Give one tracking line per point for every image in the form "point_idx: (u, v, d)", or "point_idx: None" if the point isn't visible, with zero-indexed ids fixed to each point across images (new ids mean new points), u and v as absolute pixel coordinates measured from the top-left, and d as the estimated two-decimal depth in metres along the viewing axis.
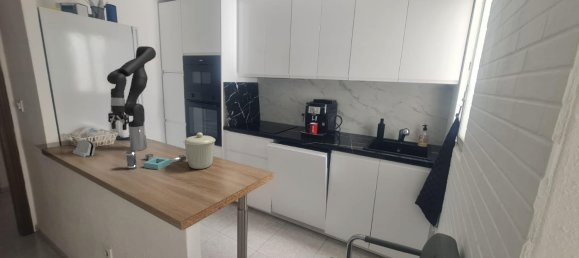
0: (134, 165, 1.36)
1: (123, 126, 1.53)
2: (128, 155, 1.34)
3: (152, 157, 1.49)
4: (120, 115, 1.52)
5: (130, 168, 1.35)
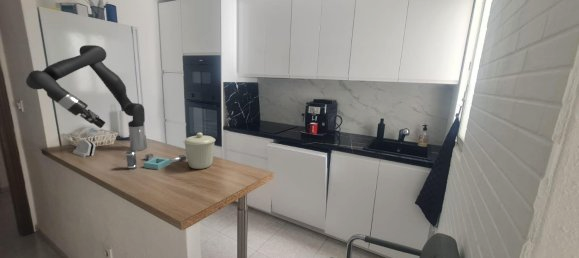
0: (134, 165, 1.36)
1: (96, 125, 1.25)
2: (128, 155, 1.34)
3: (152, 157, 1.49)
4: None
5: (130, 168, 1.35)
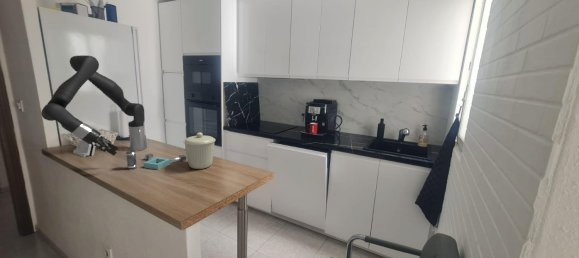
0: (134, 165, 1.36)
1: (109, 152, 1.26)
2: (128, 155, 1.34)
3: (152, 157, 1.49)
4: None
5: (130, 168, 1.35)
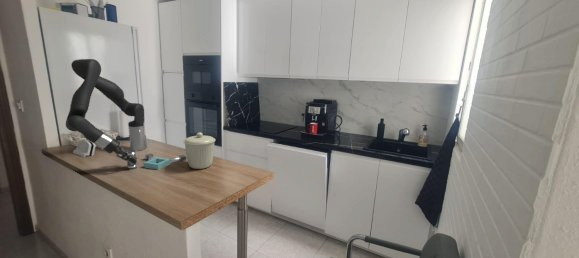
0: (134, 165, 1.36)
1: (130, 161, 1.34)
2: None
3: (152, 157, 1.49)
4: None
5: (130, 168, 1.35)
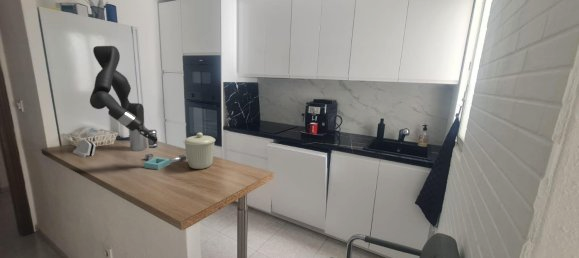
0: (155, 144, 1.38)
1: (151, 139, 1.36)
2: None
3: (152, 157, 1.49)
4: (139, 131, 1.32)
5: (151, 146, 1.37)
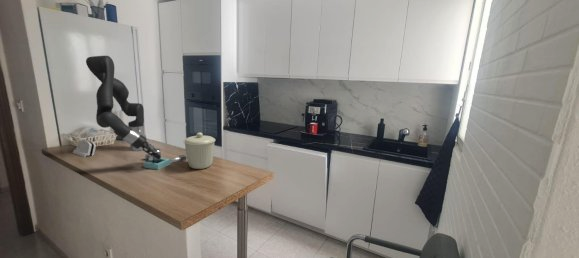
0: None
1: (154, 156, 1.37)
2: None
3: None
4: None
5: None
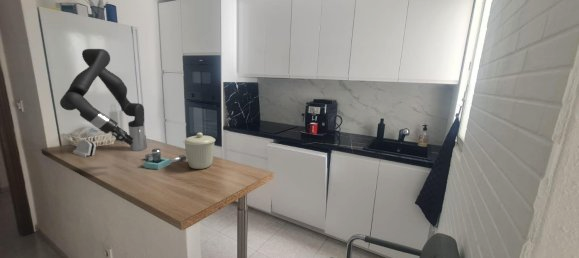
0: None
1: (126, 142, 1.28)
2: (154, 153, 1.39)
3: None
4: None
5: None
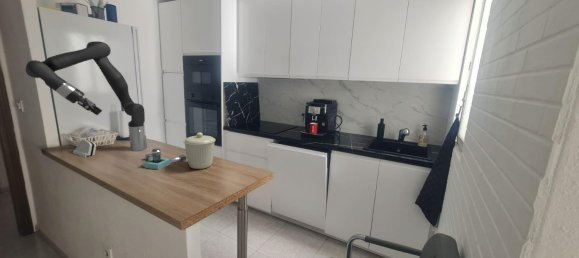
0: None
1: None
2: (154, 153, 1.39)
3: None
4: None
5: None
